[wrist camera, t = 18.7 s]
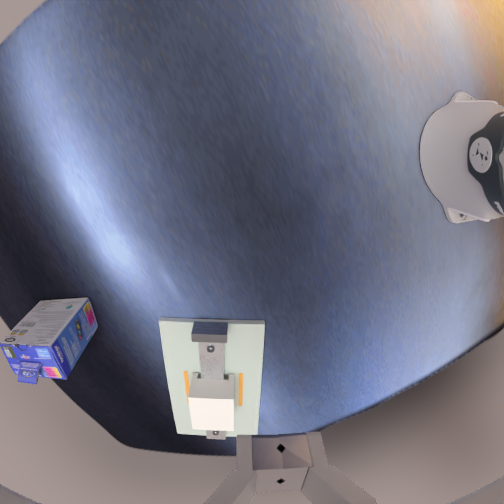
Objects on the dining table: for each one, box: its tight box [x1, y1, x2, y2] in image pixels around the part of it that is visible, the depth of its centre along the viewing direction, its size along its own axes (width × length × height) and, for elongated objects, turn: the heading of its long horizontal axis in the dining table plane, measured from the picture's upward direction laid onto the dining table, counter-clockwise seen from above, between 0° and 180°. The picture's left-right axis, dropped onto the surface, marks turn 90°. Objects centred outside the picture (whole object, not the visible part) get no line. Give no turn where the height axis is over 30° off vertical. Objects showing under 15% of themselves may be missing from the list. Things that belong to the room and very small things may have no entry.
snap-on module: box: [188, 373, 234, 431], centre depth 41 cm, size 6×7×5 cm
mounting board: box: [159, 317, 265, 437], centre depth 44 cm, size 14×24×1 cm, turn 178°
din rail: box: [191, 321, 228, 439], centre depth 42 cm, size 4×23×3 cm, turn 178°
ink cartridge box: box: [0, 298, 98, 384], centre depth 34 cm, size 10×6×14 cm, turn 96°
